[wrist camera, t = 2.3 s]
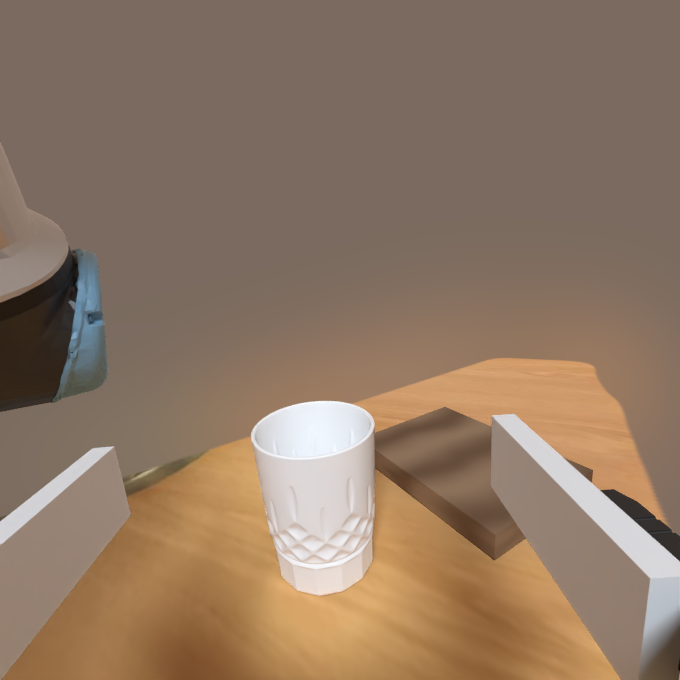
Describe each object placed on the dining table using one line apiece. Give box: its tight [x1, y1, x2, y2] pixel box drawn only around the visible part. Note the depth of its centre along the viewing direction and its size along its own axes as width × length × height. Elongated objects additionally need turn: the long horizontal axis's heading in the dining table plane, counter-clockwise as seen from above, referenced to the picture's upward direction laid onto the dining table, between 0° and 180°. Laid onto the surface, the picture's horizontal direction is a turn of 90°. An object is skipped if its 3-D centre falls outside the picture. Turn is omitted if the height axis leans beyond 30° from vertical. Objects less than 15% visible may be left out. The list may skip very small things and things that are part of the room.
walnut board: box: [375, 407, 593, 560], centre depth 34 cm, size 16×12×2 cm
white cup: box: [251, 401, 375, 596], centre depth 25 cm, size 8×8×10 cm
